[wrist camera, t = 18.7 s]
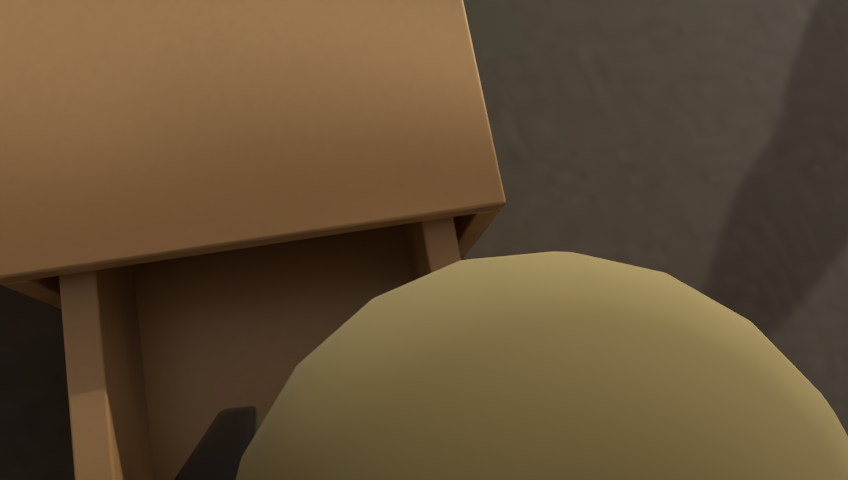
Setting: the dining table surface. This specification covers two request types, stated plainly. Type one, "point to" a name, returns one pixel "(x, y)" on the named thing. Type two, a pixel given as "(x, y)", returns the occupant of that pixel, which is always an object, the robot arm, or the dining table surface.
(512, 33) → the dining table surface
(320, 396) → the olive rounded upright piece
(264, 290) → the drawer
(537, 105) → the dining table surface
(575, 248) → the dining table surface
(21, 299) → the dining table surface
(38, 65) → the cabinet
